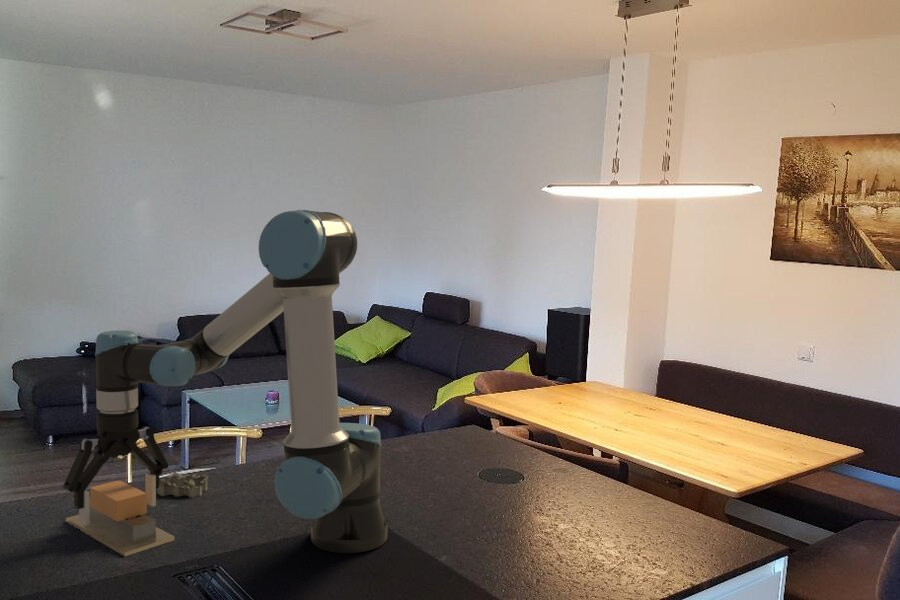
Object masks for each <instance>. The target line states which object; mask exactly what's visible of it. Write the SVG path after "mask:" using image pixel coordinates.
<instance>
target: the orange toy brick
mask: <svg viewBox="0 0 900 600" xmlns="http://www.w3.org/2000/svg"><path fill="white" fill-rule="evenodd" d="M89 499H90V507H92V508H94V509H95V510H97V511H99V512H101V513H103V514H105V515H106V516H108V517H110V518H112V519H114V520H116V521H121V520H124V519H125V520H130V519H134V518H136V516H138V515H141V514H145V515H146V514H147V513H148V504H147V493H146V491H142V490H140V489H139V488H137V487H134V486H132V485H129V484H128V483H126V482H124V481H121V480H115V481H110V482H107V483H103V484H100V485H94V486H90V487H89Z"/></svg>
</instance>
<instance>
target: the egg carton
mask: <svg viewBox="0 0 900 600" xmlns="http://www.w3.org/2000/svg"><path fill="white" fill-rule="evenodd" d="M209 476H210V473H206V474H201V475H199V474H195V473H192V474H182V473H179V472H173V473H171V474H170V473H169V474H168V475H166V476H164V477H163V478H161V479H159V488H156V495H159V496H161V497H165V496H169V495H170V496H174V497H181V496H188V497H189V498H196V497H200V496H202V495H203V494H202V493H203V492H205V491H207V490H208V479H209Z"/></svg>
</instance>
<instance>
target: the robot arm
mask: <svg viewBox="0 0 900 600" xmlns="http://www.w3.org/2000/svg"><path fill="white" fill-rule="evenodd" d="M357 250H358V237H357V233H356V231H355V229H354V227H353V226H352V225H351V223H350V222H349V221H348V220H347V219H345V218H344V217H343V216H341V215H339V214H337V213H334V212H329V211H328V212H327V211H315V210H306V209H297V210H296V209H295V210H288V211H283V212H280V213H279V214H277V215H275V216H273V217H272V218H271V219H270V220H269V221H268V223H267V224H266V225H265V226H264V227H263V229H262V232H261V233H260V236H259V241H258V255H259V258H260V262H261V264H262V265H263V267H264V268H266V270H267V272H268V274H267V275H266V276H265V277H263V278H262V279H260V281H259V282H258V283H255V285H253V287H252V288H250V289H249V290H248V291H247V292H246V293H244V294H243V295H242V296H241V297H240V298H238V299H237V300H236V301H235V302H233V304H231V305H230V306H229V307H228V308H226V309H225V310H224V311H223V312H221V313H220V314H219V315H218V316H217V317H216V318H215V319H212V321H211V322H210V323H208V324H207V325H206V326H205V327H204V328H203V329H202V330H200V331H199V332H198V333H196V334H195V335H194V336H193V337H191V338H188V339H183V340H179V341H173V342H169V343H164V344H144V343H140V342H139V339H138V334H137V332H135V331H132V330H109V331H108V330H107V331H102V332H100V333H99V334H98V335H97V336H96V339H95V341H96V342H95V353H94V357H95V374H96V388H95V389H96V392H95V394H96V396H95V398H96V409H97V412H96V432H97V434H96V437H95V438H91V439H88V438H85V437H84V438H81V439H80V442H79V450H78V452H77V454H76V457H75V459H74V461H73V464H72V466H71V467H70V470H69V471H68V474H67V476H66V477H65V481H64V483H63V485H62V487H63V489H65V491H67V492H70V493H73V500H74V501H73V503H74V504H73V505H74V508H76V509H78V515H79V522H80V523H82V524H84V525H85V526H87V525H90V516H89V499H90V490H87V488H88V487H89V485H90V484H91V482H92V481H93V480H94V478H95V477H96V476H97V474H98V473H99V471H100V470H101V468H102V467H103V466H104V464H105V463H107V462H108V461H109V459H111V458H112V459H115V458H118V457H120V456H124V457H125V456H128V455H129V454H131V455H133V456H134V457H135V458H136V459H137V460H138V462H140V464H141V465H143V466H144V467H145V468H146V469H148V472H145V476H144V478H145V481H144V482H145V484H144V485H145V493H147V506H150V507H156V506H157V498H156V497H157V488H159V480H160V475H162V474H163V470H167V469H168V468H169V463H168V461H167V459H166V458H165V456H164V454H163V452H162V450H161V449H160V446H159V445H158V443H157V441H156V438H155V434H154V433H155V432H154V429H153V428H152V427H150V426H149V427H148V426H145V425H144V426H142V427H141V428H140V429H139V428H138V427H139V410H138V409H137V408H138V406H139V383H141V384H148V385H155V386H156V385H158V386H164V387H168V388H169V387H183V386H185V385H186V384H188V382H189V380H191V379H192V378H193V376H197V375H202V374H204V373H205V374H206V373H211V372H214V371H216V370H218V369H221V368H222V367H223V366H224V365H225V364H226V363H227V362H228V360H229V357H230V355H231V354H232V353H234V352H235V351H236V350H237V349H238V348H239V347H241V346H242V345H243V344H244V343H246V342H247V341H248V340H250V339H251V338H252V337H253V336H255V335H256V334H257V333H258V332H260V331H261V330H262V329H263V328H265V327H266V326H267V325H268V324H269V323H271V322H272V321H274V319H276V318H277V317H278V316H279V315H281V314H282V313H283V319H284V320H283V321H284V322H283V323H284V335H285V351H286V353H285V354H286V365H287V366H286V367H287V380H288V382H287V383H288V397H289V398H288V399H289V400H288V401H289V415H290V428H291V430H290V432H289V433H288V435H287V436H286V437H285V438H284V439H283V454H284V455H283V456H284V461H282V463H281V464H280V465H279V467H278V469H277V470H276V472H275V476H274V485H273V486H274V490H275V494H276V496H277V498H278V500H279V502H280V503H281V505H282V506H283V507H284V508H285V509H287V510H288V512H289V513H290V514H292V515H294V516H296V517H298V518H301V519H306V520H314V522H313V523H312V526H311V528H310V529H311V530H310V531H311V532H310V540H311V543H312V544H313V545H314V546H315V547H316V548H318V549H320V550H323V551H326V552H329V553H335V554H336V553H337V554H357V553H358V554H359V553H364V552H368V551H372V550H374V549H377V548H380V547H381V546H383V545H384V543H385V544H386V542H387V539H388V524H387V521H386V520H385V516H384V511H383V509H382V505H381V502H380V490H381V488H380V484H381V481H380V480H381V456H382V455H381V454H382V453H381V452H382V451H381V450H382V444H383V443H382V442H381V440H382V439H381V432H380V430H379V429H378V428H377V427H375V426H374V425H371V424H370V425H369V424H366V423H357V422H356V423H355V422H340V410H339V394H338V393H339V391H338V376H337V375H338V374H337V360H336V346H335V345H336V344H335V329H334V310H333V309H334V307H333V294H334V292H335V291H336V290H338V288H339V287H340V285H341V284H340V274H341V273H342V272H343V271H345V270H346V269H347V268H348V267H349V266H350V265H351V264H352V262H353V261H354V259H355V257H356V254H357ZM139 439H143V442H144V444H145V445H146V447H147V449H148V451H149V453H150V455H151V456H152V458H153V460H154V461H152V460H151V458H150V457H148V455H147V454H145V453H144V452H143V451H142V449H141V448H140V446H138V445H137V442H138V440H139ZM95 447H97V448H98V449H97V450H96V452H95V453H94V455H93V458H92V459H91V460H90V462H89V459H90V457H91V455H92V451H94V450H95ZM88 462H89V463H88Z"/></svg>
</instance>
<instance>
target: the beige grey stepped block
mask: <svg viewBox="0 0 900 600" xmlns="http://www.w3.org/2000/svg"><path fill="white" fill-rule="evenodd" d="M89 516H90V525H87V526H85V525H84V524H82V523H80V522H79V514H77V515H76V514H75V515H73V516H69V517H65V522H66V523H67V522H68V524H69V525H70V526H72V525H73V526H72V527H74V528H75V529H77V528H78V530H79V529H80V532H83V533H84V534H86V535H87V536H89V535H90V537H91V538H92V539H95V540H96V541H98V542H99V543H102V544H103V545H105V546H107V547H108V548H110V549H111V550H113V551H114V552H116V553H118V554H119V555H121V556H124V557H128V556H131V555H133V554H137V553H139V552H143V551H146V550H149V549H152V548H155V547H159V546H161V545H164V544H167V543H170V542H174V541H175V535H172V534H171V533H169V532H167V531H165V530H163V529H161V528H159V527H158V526H157V520H156V519H154V518H153V517H151V516H149V515H147V514H146V513H145V514H141V515H138V516H136V518H134V519H130V520H125V519H124V520H121V521H116V520H114V519H112V518H110V517H108V516H106V515H105V514H103V513H101V512H99V511H97V510H95V509H94V508H92V507H90V498H89Z"/></svg>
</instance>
